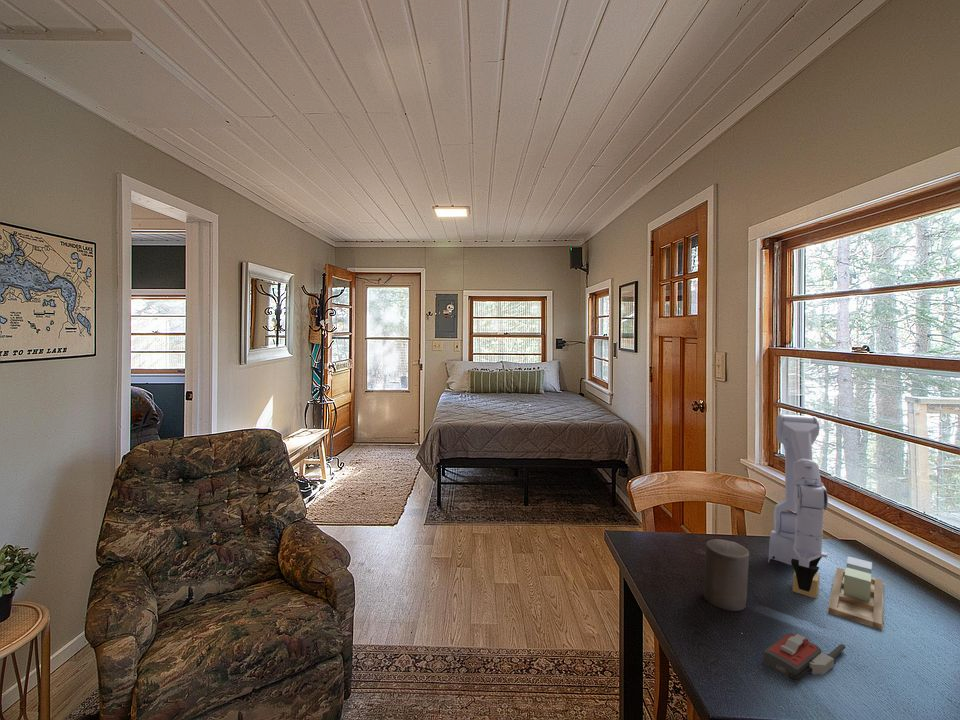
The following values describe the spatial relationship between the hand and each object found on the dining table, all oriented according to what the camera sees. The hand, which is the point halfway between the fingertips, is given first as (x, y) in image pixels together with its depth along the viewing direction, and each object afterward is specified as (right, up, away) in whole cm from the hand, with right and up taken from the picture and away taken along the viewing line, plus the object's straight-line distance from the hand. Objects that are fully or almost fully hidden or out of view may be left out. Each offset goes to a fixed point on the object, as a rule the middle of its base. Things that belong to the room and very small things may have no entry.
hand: (806, 583), depth 118 cm
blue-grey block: (+16, -2, +3) cm, 17 cm away
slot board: (+11, -4, -3) cm, 12 cm away
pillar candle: (-22, -3, -2) cm, 22 cm away
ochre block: (0, -3, 0) cm, 3 cm away
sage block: (+11, -2, -3) cm, 11 cm away
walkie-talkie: (-17, -5, -23) cm, 28 cm away
